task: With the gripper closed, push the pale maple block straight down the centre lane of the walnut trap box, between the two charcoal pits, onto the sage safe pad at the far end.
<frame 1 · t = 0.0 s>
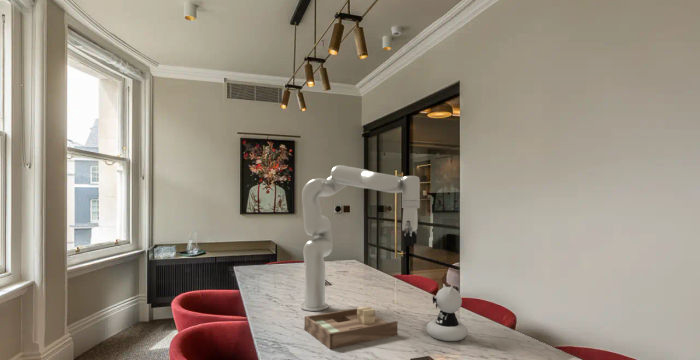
hand: (410, 244, 165), 31 cm above the table, tool pointing down, fingers open, 9 cm apart
maple block: (365, 321, 150), point 3 cm above the table, touching trap box
decorative figurine: (446, 336, 144), on the table
trap box: (350, 332, 146), on the table
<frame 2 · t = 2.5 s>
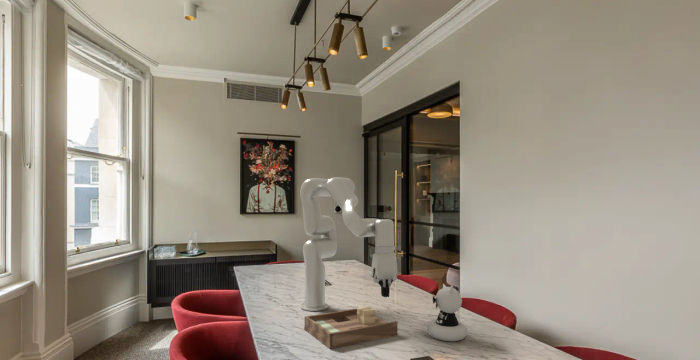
hand: (385, 296, 154), 12 cm above the table, tool pointing down, fingers closed
nothing on the table moved.
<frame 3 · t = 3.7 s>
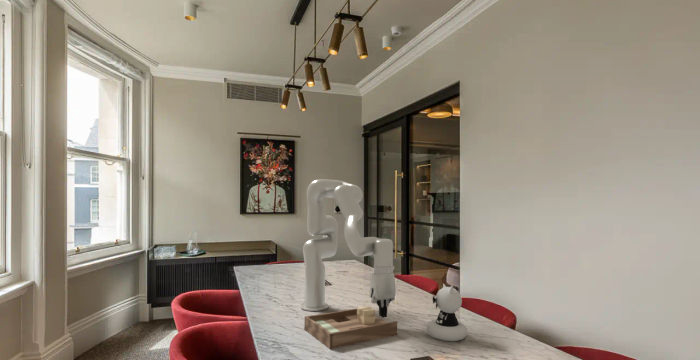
hand: (383, 316, 154), 4 cm above the table, tool pointing down, fingers closed
nothing on the table moved.
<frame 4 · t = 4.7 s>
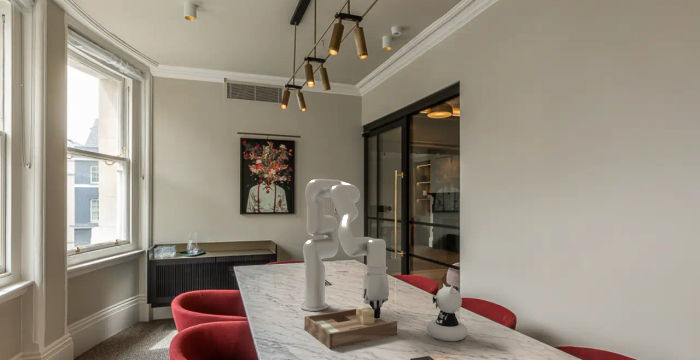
hand: (376, 317, 152), 4 cm above the table, tool pointing down, fingers closed
maple block: (365, 321, 149), point 3 cm above the table, touching gripper
everything else where it was.
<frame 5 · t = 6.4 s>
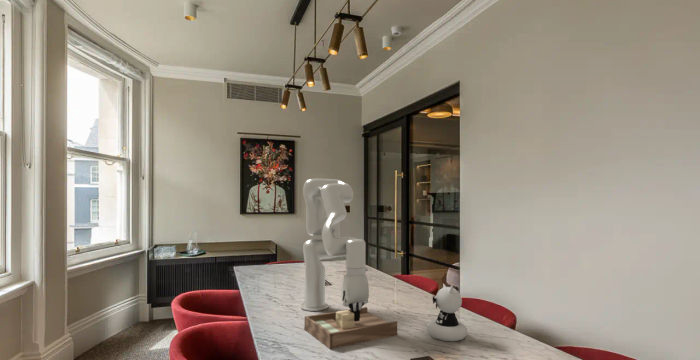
hand: (355, 320, 147), 4 cm above the table, tool pointing down, fingers closed
maple block: (344, 326, 144), point 3 cm above the table, touching gripper
everything else where it was.
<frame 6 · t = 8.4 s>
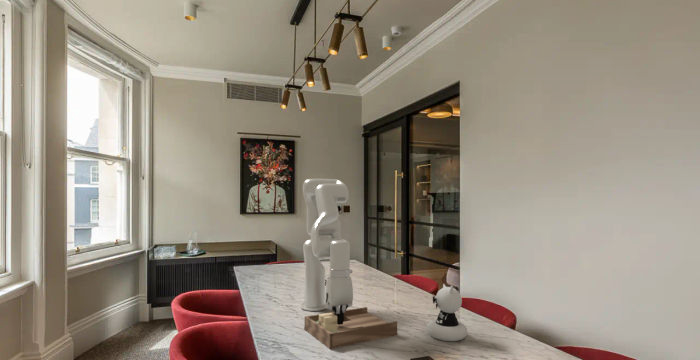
hand: (339, 323, 144), 4 cm above the table, tool pointing down, fingers closed
maple block: (327, 329, 141), point 3 cm above the table, touching gripper, trap box
everything else where it was.
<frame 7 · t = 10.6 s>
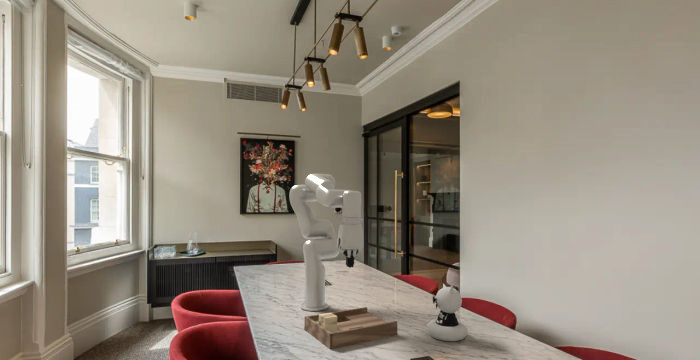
hand: (349, 266, 156), 23 cm above the table, tool pointing down, fingers closed
maple block: (327, 329, 141), point 3 cm above the table, touching trap box
everything else where it was.
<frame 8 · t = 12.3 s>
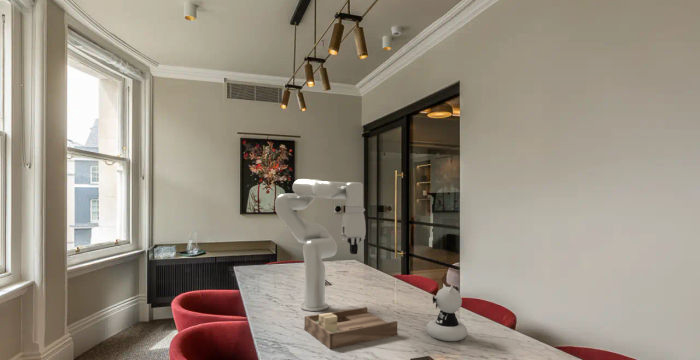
hand: (353, 253, 166), 27 cm above the table, tool pointing down, fingers closed
nothing on the table moved.
at the end: maple block 1.0 cm from the target spot on the trap box, point 3.0 cm above the trap box's base; maple block tilted 0° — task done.
